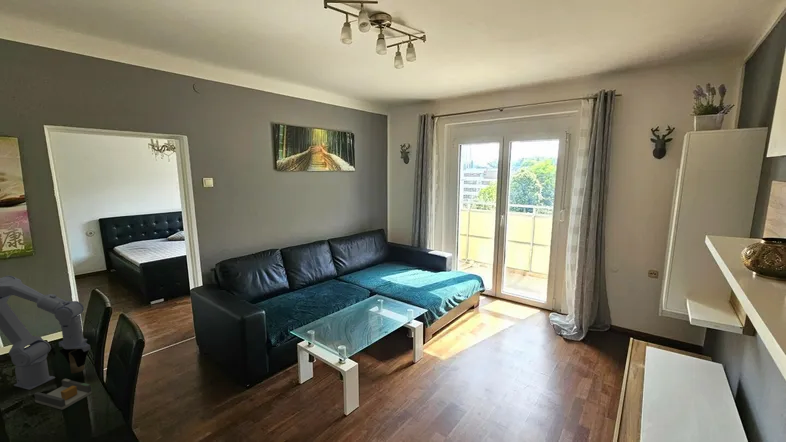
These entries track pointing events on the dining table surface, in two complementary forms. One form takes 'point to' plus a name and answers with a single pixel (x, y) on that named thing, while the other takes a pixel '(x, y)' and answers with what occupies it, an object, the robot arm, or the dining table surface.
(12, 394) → the dining table surface
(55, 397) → the grey tray
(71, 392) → the block
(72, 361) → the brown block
